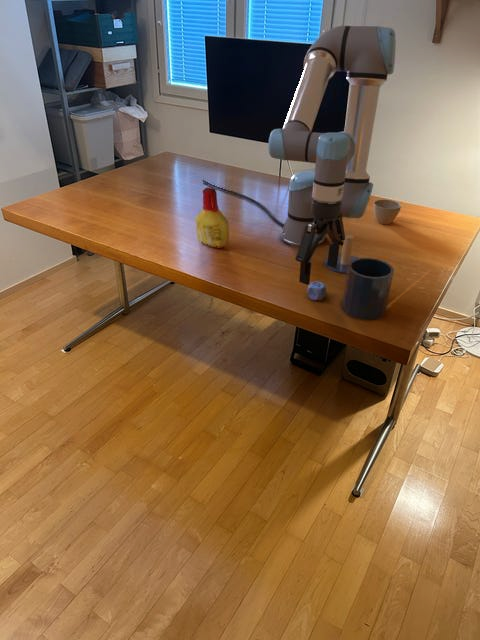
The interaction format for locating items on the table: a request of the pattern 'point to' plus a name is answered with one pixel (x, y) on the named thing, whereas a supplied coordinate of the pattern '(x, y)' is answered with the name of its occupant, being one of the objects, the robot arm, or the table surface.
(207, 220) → the bottle
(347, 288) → the dark blue cylinder
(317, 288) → the decorative dice
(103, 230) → the table surface
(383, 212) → the flower pot
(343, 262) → the lid
